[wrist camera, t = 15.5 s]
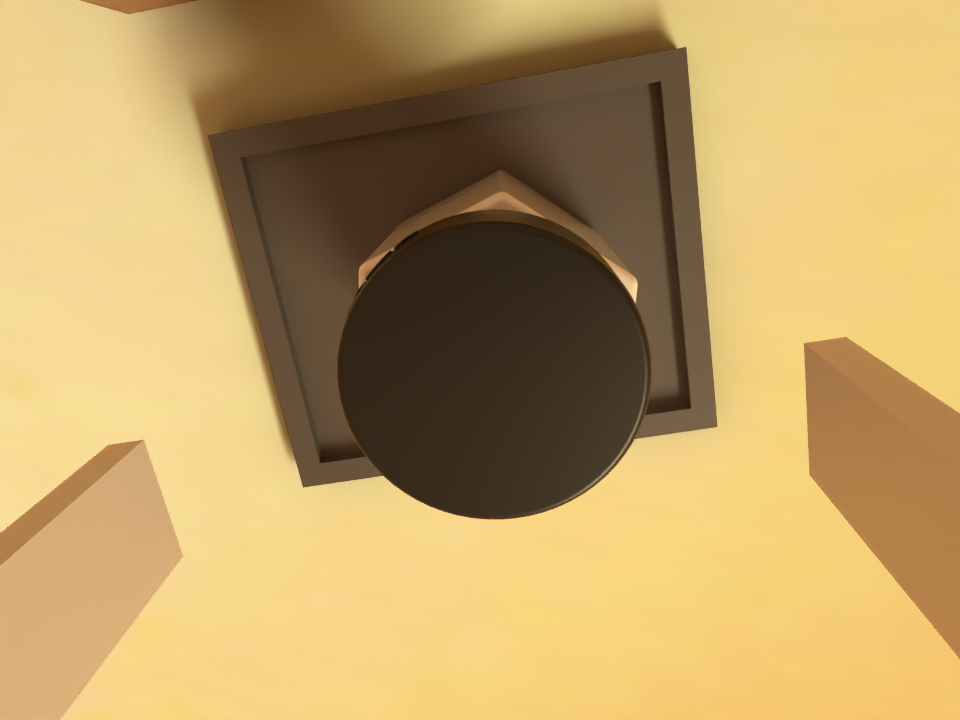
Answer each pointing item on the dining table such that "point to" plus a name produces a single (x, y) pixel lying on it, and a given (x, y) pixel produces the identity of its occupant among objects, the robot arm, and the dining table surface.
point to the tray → (445, 171)
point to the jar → (494, 355)
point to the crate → (135, 4)
